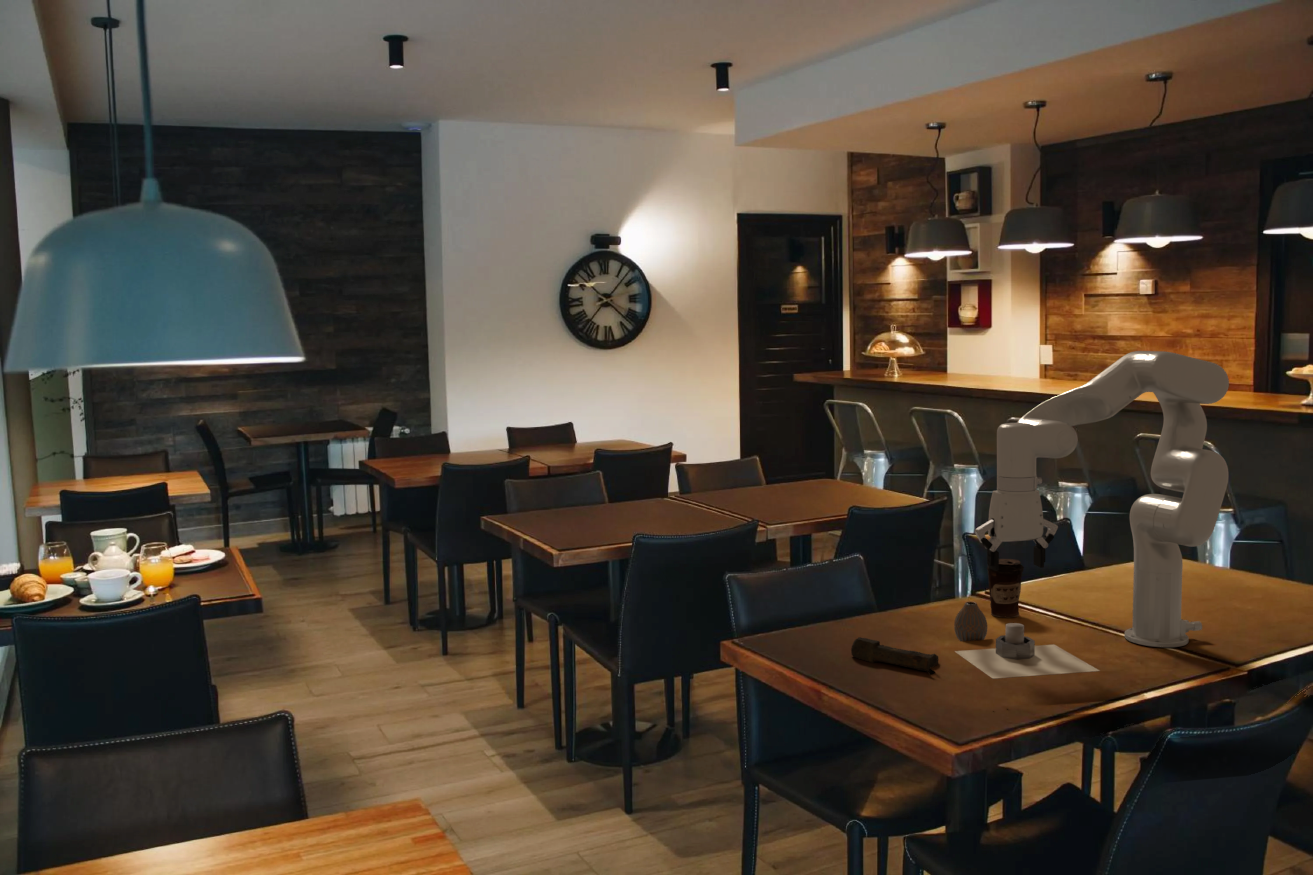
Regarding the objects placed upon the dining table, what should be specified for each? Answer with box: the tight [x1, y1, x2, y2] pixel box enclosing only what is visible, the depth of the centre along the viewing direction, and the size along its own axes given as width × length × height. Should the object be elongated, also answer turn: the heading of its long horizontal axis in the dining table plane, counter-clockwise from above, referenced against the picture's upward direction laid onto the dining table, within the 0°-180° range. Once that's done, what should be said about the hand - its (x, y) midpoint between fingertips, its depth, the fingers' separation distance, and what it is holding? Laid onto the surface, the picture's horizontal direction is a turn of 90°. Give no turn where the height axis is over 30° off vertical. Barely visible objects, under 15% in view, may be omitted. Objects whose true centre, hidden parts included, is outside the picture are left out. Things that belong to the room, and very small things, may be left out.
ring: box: [995, 634, 1036, 660], centre depth 226 cm, size 7×7×3 cm
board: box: [954, 622, 1101, 679], centre depth 222 cm, size 22×18×8 cm
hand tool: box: [850, 636, 939, 676], centre depth 227 cm, size 19×4×5 cm, turn 48°
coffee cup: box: [986, 558, 1025, 618], centre depth 261 cm, size 9×8×13 cm
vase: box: [953, 601, 988, 642], centre depth 240 cm, size 7×7×9 cm
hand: (1016, 567), depth 225 cm, fingers open, 9 cm apart
